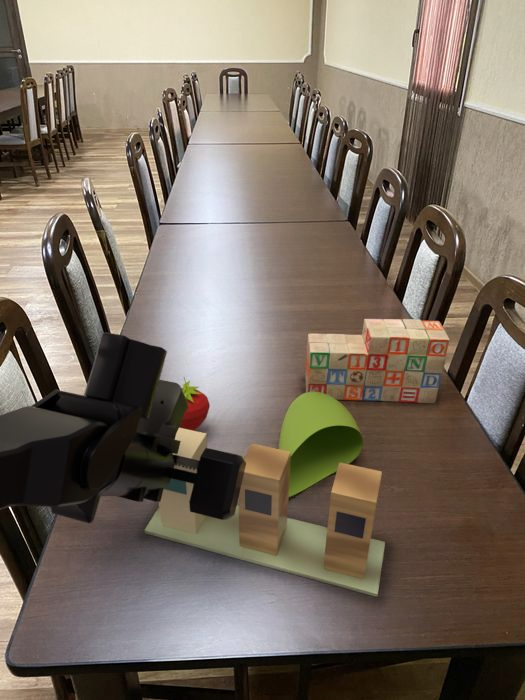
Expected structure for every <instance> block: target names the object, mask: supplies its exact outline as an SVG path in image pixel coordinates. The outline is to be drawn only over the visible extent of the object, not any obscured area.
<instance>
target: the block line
mask: <svg viewBox="0 0 525 700" xmlns="http://www.w3.org/2000/svg"><path fill="white" fill-rule="evenodd" d="M290 456H291V452H289V451H285V450H280V449H279V448H276V447H270V446H266V445H261V444H257V443H251V444H250V445H249V448H248V449H247V452H246V453H245V456H244V457H243V458H244V460H245V462H246V467H245V471H244V475H243V480H242V484H241V489H240V493H239V497H238V504H237V506H236V511H235V515H234V516H232V517H231V518H229V519H227V520H221V519H217V518H213V517H209V516H206V517H205V519H204V521H203V523H202V525H201V526H200V528H199V530H198V532H197V534H193V533H189V532H185V531H181V530H178V529H174V528H170V527H166V526H163V525H162V523H161V515H160V507H159V506H158V508H157V509H156V511H155V512H154V514H153V516H152V517H151V519H150V520H149V522H148V523H147V525H146V527H145V528H144V534H146V535H150V536H154V537H156V538H157V537H158V538H161V539H164V540H168V541H171V542H175V543H179V544H182V545H185V546H190V547H194V548H198V549H201V550H204V551H207V552H212V553H215V554H218V555H223V556H226V557H230V558H234V559H237V560H241V561H244V562H247V563H251V564H256V565H259V566H262V567H265V568H269V569H273V570H277V571H280V572H283V573H284V572H285V573H288V574H292V575H295V576H299V577H302V578H305V579H310V580H313V581H317V582H321V583H323V584H327V585H331V586H335V587H339V588H343V589H347V590H348V591H354V592H356V593H361V594H364V595H368V596H371V597H375V598H378V596H379V588H380V582H381V576H382V575H381V574H382V569H383V561H384V554H385V547H386V541H384V540H380V539H379V540H378V539H375V538H372V536H373V535H372V534H373V530H374V529H373V528H374V523H375V516H376V512H377V511H376V510H377V505H378V499H379V493H380V487H381V483H382V475H383V471H381V470H376V469H373V468H367V467H364V466H360V465H359V466H358V465H354V464H350V463H349V464H345V463H340V462H339V465H338V469H337V471H336V472H335V475H334V480H333V483H332V484H333V485H332V488H331V491H330V498H329V499H330V500H329V509H328V518H327V527H326V526H323V525H320V524H315V523H311V522H307V521H302V520H299V519H295V518H291V517H289V516H288V515H289V498H290V497H289V477H290Z"/></svg>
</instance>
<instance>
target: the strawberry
mask: <svg viewBox="0 0 525 700" xmlns="http://www.w3.org/2000/svg"><path fill="white" fill-rule="evenodd" d="M183 381H184V383H183V384H182V387H181V389H182V391H183V393H184V395H185V397H186V399H187V402H188V409H187V411H186V412H185V414H184V416H183V419H182V421H181V424H180V426H179V428H183V429H188V430H192V431H197V430H198V428H200V426H202V424H203V423H204V421H205V420H206V419H207V417H208V414H209V411H210V408H211V407H210V406H211V405H210V401H209V398H208V396H207V395H206V394H205V393H203V392H202V391H200V390H198V389H199V386H193V385H192V386H191V385H190V383H191V380H189V381H187V382H186V377H185V376H183Z"/></svg>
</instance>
